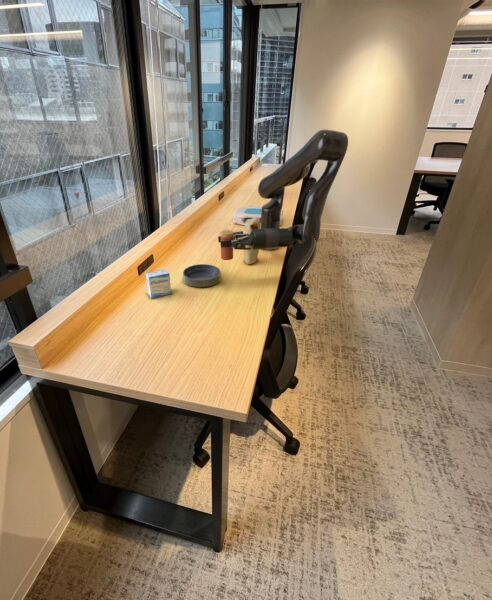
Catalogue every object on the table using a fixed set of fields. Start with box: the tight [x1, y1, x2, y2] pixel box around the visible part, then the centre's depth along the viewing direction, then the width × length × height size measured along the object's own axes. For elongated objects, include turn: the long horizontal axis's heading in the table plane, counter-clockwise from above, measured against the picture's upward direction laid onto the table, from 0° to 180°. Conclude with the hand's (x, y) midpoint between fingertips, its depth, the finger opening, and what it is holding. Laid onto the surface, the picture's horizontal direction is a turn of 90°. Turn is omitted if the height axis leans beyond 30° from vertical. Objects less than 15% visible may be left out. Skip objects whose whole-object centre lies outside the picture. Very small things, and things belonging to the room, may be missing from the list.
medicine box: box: [144, 269, 172, 299], centre depth 121 cm, size 8×4×9 cm, turn 118°
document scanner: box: [232, 206, 284, 226], centre depth 200 cm, size 21×28×6 cm
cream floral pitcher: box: [243, 217, 261, 265], centre depth 144 cm, size 10×7×20 cm
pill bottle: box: [219, 229, 234, 261], centre depth 121 cm, size 5×5×10 cm
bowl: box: [182, 263, 221, 288], centre depth 132 cm, size 15×15×4 cm
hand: (219, 241), depth 120 cm, fingers closed on pill bottle, 4 cm apart
